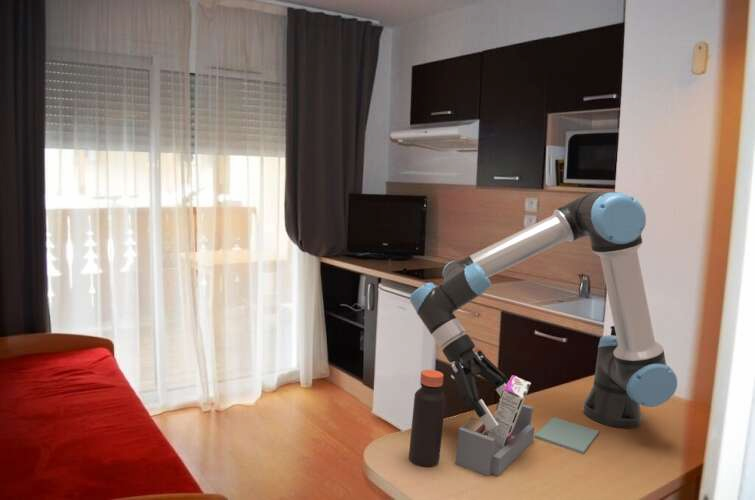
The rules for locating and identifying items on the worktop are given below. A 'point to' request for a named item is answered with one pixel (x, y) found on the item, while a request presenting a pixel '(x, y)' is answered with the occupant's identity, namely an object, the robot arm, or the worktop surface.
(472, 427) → the offcut stack
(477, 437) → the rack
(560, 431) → the mat
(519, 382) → the candy bar box
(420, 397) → the bottle
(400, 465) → the worktop surface
